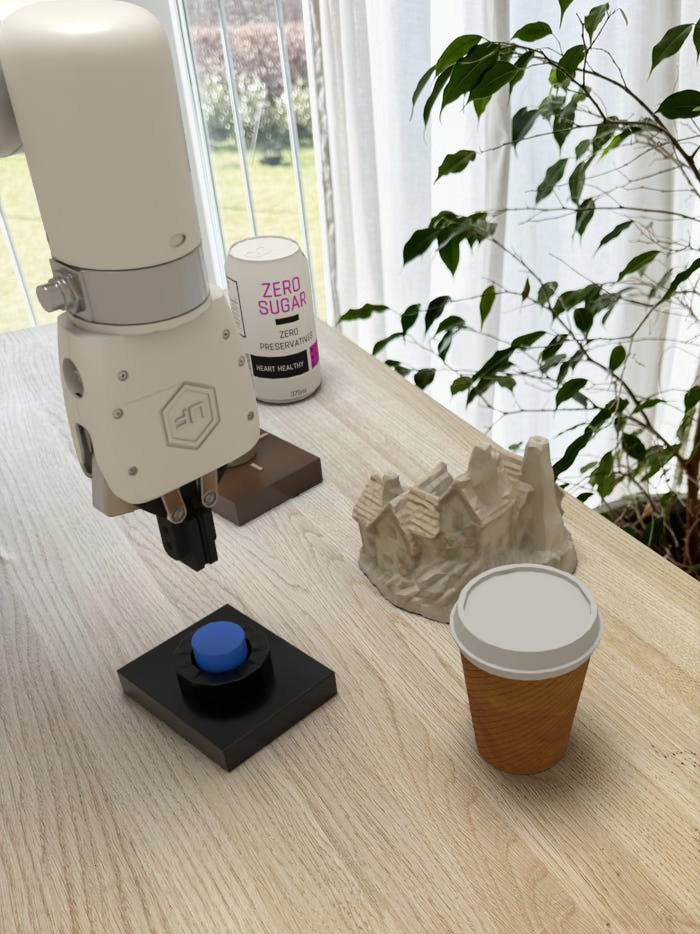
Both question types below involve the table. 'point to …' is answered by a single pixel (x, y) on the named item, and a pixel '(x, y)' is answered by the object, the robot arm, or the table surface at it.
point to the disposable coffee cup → (524, 660)
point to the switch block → (229, 690)
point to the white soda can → (274, 316)
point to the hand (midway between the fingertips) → (193, 557)
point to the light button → (219, 646)
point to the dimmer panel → (266, 479)
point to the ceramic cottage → (461, 526)
